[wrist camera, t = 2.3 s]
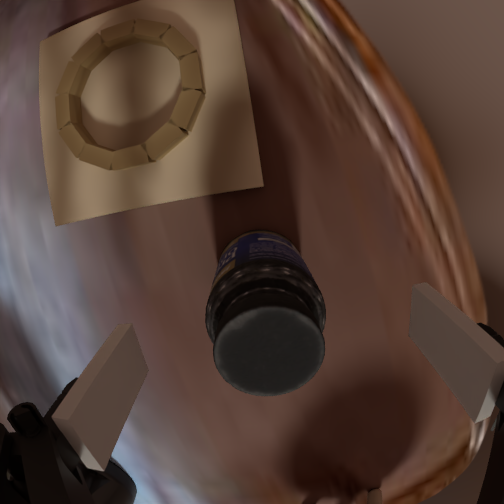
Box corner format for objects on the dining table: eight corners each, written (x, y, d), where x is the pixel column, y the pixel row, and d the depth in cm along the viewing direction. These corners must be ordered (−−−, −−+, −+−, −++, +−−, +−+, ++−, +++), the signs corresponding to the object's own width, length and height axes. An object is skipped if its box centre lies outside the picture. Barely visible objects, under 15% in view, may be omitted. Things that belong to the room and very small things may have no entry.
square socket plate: (63, 223, 22) (43, 231, 19) (47, 45, 18) (28, 36, 15) (262, 185, 21) (265, 188, 18) (231, -12, 17) (229, -32, 14)
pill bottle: (222, 223, 22) (198, 277, 11) (308, 233, 22) (358, 292, 12) (215, 304, 24) (194, 402, 13) (295, 311, 24) (324, 410, 13)
